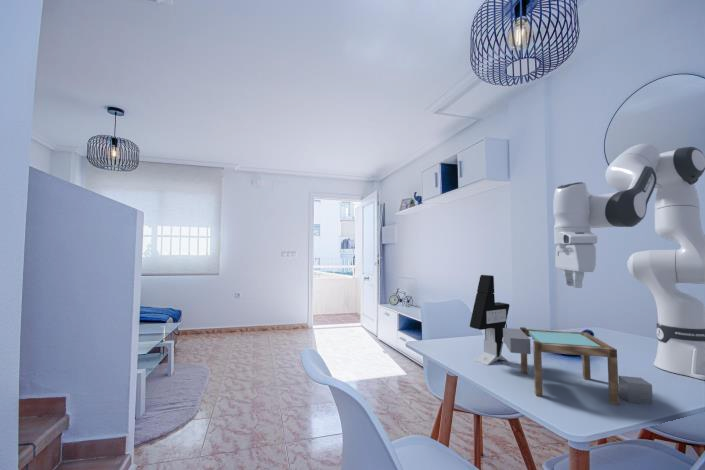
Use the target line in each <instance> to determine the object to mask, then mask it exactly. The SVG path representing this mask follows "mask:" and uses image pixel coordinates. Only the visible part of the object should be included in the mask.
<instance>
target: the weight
mask: <svg viewBox="0 0 705 470" xmlns="http://www.w3.org/2000/svg"><path fill="white" fill-rule="evenodd" d="M618 388H619V396H620V397H622V398H623V399H624V400H625V401H627V402H628V403H629V404H630V403H631V404H638V405H647V406H653V405H654V402H653V401H654V399H653V385H652V383H649V382H648V381H647V380H645V379H644V378H642V377H637V376H625V375H618Z"/></svg>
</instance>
